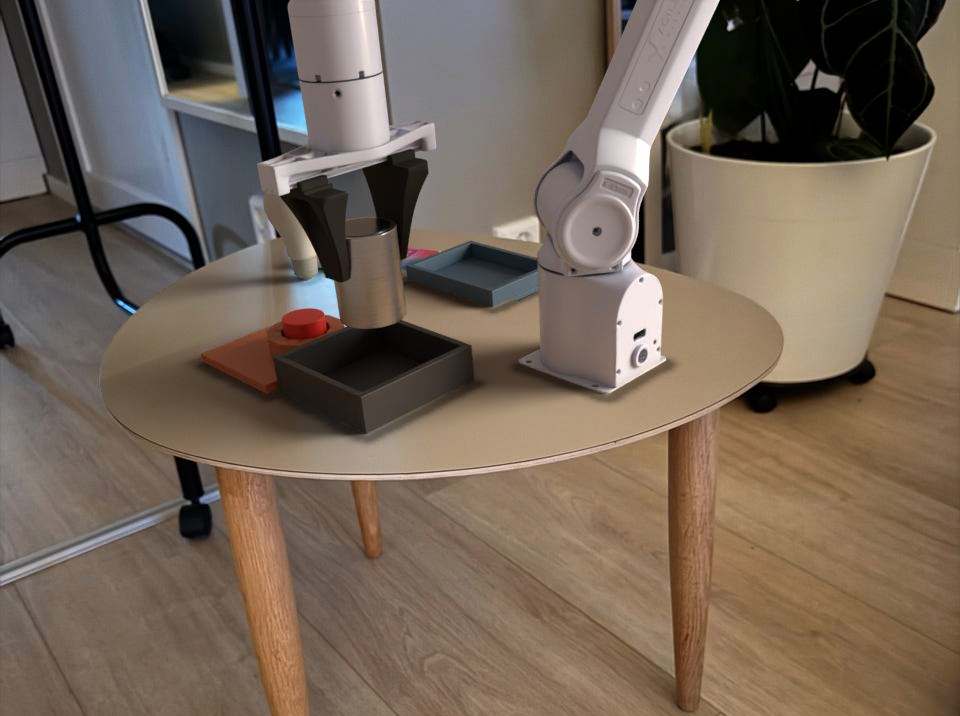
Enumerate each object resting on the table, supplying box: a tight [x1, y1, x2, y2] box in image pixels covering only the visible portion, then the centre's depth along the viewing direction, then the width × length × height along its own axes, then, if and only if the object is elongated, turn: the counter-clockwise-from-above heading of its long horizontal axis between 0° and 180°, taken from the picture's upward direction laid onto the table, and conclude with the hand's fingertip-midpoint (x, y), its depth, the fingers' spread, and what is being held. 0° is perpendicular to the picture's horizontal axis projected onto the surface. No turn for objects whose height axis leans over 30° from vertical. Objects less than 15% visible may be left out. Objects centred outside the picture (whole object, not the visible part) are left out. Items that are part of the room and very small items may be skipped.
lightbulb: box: [262, 192, 319, 281], centre depth 96 cm, size 6×6×11 cm
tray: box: [406, 240, 538, 308], centre depth 94 cm, size 12×9×2 cm
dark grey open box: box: [273, 319, 475, 435], centre depth 75 cm, size 11×11×4 cm
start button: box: [281, 307, 327, 340], centre depth 80 cm, size 4×4×2 cm
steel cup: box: [333, 216, 407, 329], centre depth 72 cm, size 5×5×7 cm
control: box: [200, 314, 345, 395], centre depth 81 cm, size 10×10×3 cm
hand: (367, 267), depth 72 cm, fingers closed on steel cup, 5 cm apart
